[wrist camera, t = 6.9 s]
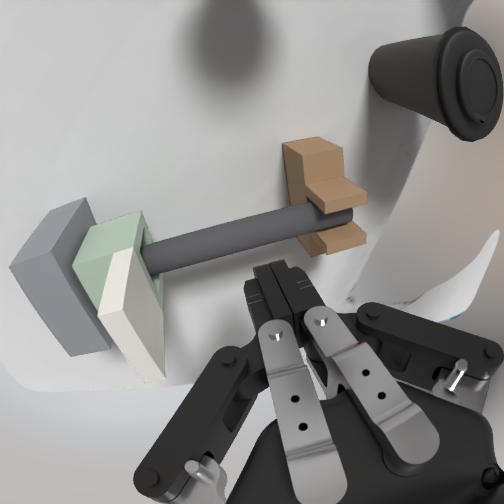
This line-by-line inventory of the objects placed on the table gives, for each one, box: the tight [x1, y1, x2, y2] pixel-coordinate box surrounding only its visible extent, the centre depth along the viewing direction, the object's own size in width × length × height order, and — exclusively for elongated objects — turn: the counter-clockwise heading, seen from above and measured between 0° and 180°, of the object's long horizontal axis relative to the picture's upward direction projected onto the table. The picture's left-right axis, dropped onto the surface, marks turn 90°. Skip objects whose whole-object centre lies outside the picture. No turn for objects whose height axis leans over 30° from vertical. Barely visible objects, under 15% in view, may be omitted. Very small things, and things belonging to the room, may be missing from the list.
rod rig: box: [9, 137, 367, 357], centre depth 20 cm, size 23×8×8 cm, turn 100°
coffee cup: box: [369, 27, 503, 142], centre depth 16 cm, size 8×8×10 cm
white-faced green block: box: [72, 210, 166, 383], centre depth 16 cm, size 4×5×10 cm
